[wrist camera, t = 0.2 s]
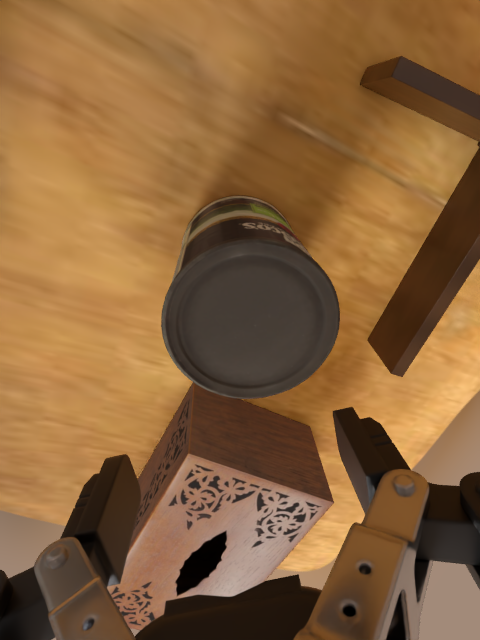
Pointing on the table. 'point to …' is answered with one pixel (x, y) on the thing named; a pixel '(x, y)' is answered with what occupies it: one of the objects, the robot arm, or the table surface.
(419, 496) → the robot arm
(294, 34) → the table surface
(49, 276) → the table surface
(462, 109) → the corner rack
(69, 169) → the table surface
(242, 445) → the tissue box cover
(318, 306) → the coffee can
